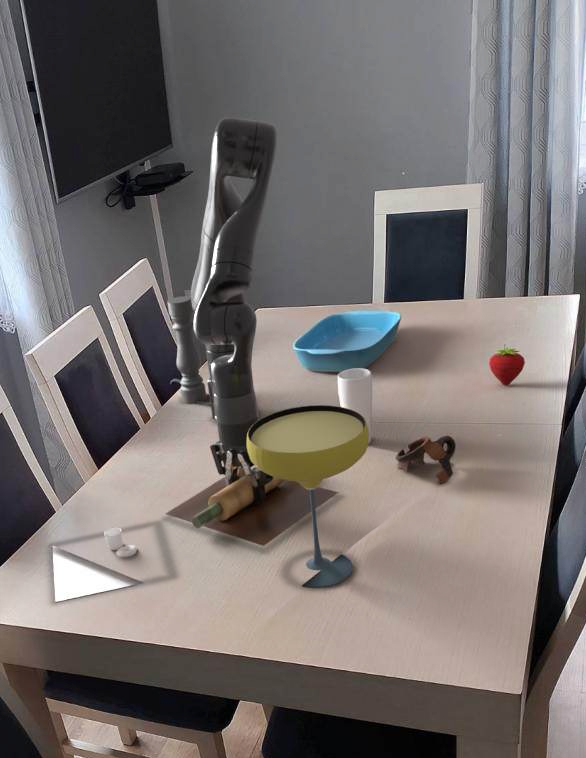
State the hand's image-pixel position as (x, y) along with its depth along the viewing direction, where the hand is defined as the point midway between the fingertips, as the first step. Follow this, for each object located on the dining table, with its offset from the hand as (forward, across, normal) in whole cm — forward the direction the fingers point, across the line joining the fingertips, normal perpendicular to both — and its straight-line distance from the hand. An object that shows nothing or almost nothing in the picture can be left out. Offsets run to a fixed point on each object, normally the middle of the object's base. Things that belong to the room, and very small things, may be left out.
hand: (248, 498), depth 163 cm
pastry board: (+2, -1, 0) cm, 2 cm away
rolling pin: (+1, 0, 0) cm, 1 cm away
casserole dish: (+2, +31, -78) cm, 84 cm away
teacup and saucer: (+2, +10, +27) cm, 29 cm away
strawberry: (+2, -15, -72) cm, 74 cm away
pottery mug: (+2, -22, -27) cm, 35 cm away
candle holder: (+2, +50, -38) cm, 63 cm away
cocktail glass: (+2, -24, +11) cm, 27 cm away
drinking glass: (+2, -2, -33) cm, 33 cm away
